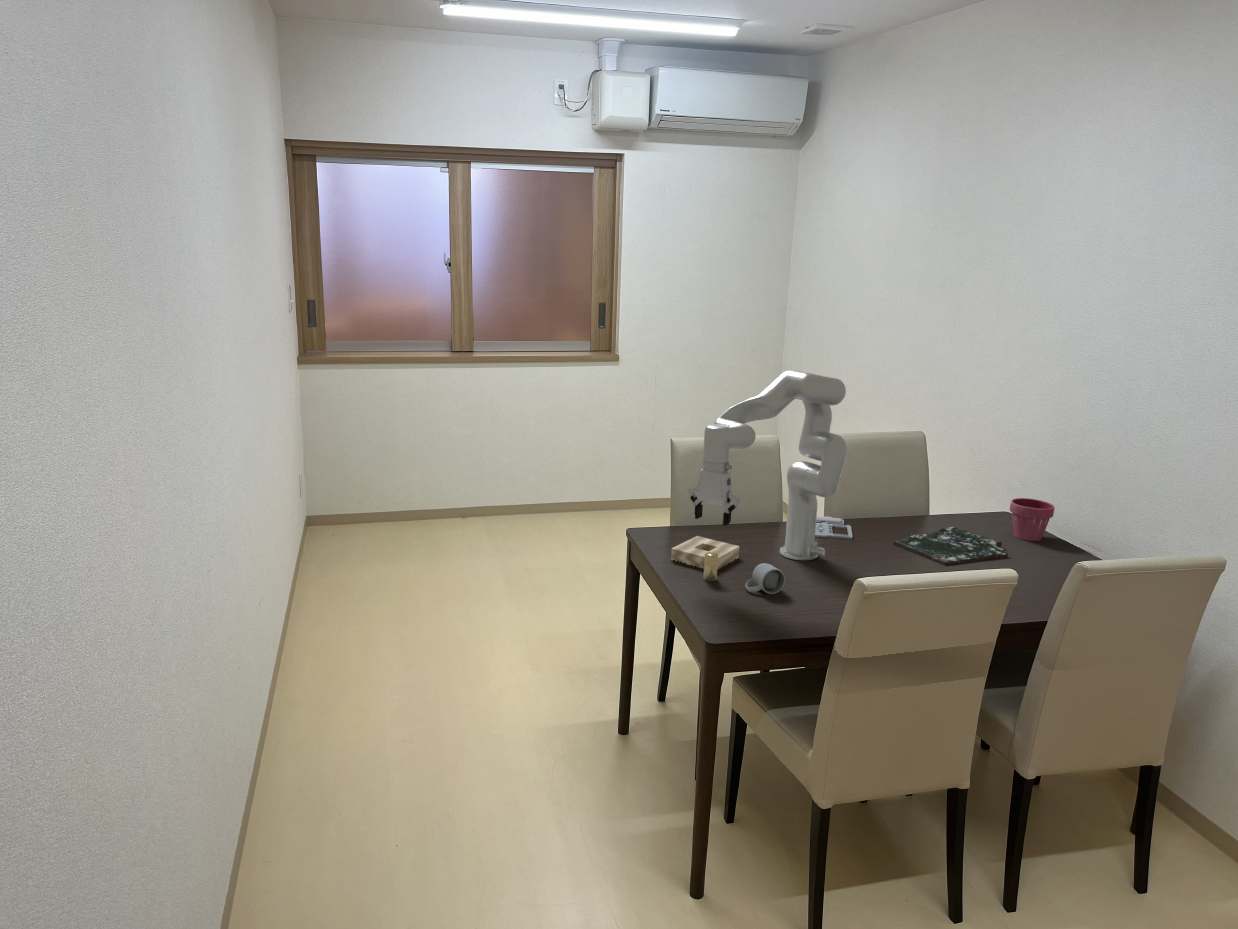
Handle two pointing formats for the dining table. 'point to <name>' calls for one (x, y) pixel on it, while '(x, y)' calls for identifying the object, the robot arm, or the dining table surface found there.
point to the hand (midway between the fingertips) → (712, 521)
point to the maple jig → (698, 546)
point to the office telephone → (826, 529)
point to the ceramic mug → (766, 579)
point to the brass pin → (710, 566)
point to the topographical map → (952, 546)
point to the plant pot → (1030, 518)
